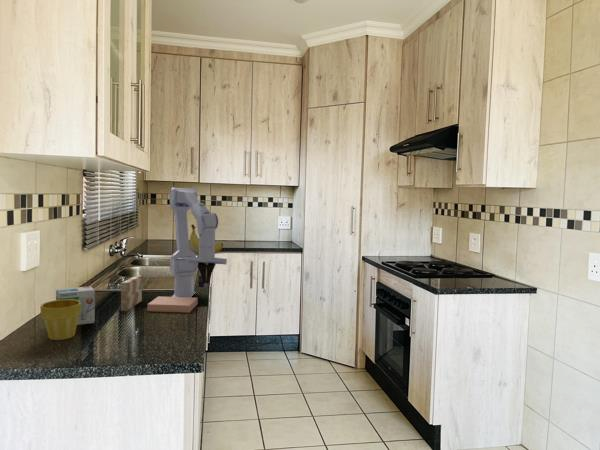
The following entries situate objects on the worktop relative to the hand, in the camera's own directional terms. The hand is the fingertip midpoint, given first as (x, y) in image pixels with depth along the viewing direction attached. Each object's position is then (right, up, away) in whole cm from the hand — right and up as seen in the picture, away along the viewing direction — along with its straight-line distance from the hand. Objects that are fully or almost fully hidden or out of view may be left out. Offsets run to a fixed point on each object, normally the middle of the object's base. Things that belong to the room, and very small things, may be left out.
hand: (206, 283), depth 164 cm
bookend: (-28, -8, +1) cm, 29 cm away
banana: (-30, +2, +145) cm, 149 cm away
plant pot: (-34, -11, -35) cm, 50 cm away
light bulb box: (-37, -10, -21) cm, 44 cm away
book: (-12, -10, +1) cm, 16 cm away
